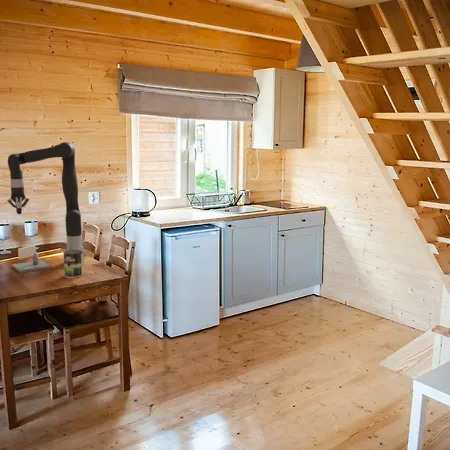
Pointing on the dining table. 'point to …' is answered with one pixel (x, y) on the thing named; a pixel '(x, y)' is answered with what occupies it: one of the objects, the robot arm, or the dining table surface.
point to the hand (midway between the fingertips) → (19, 214)
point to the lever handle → (28, 253)
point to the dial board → (30, 266)
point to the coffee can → (73, 263)
